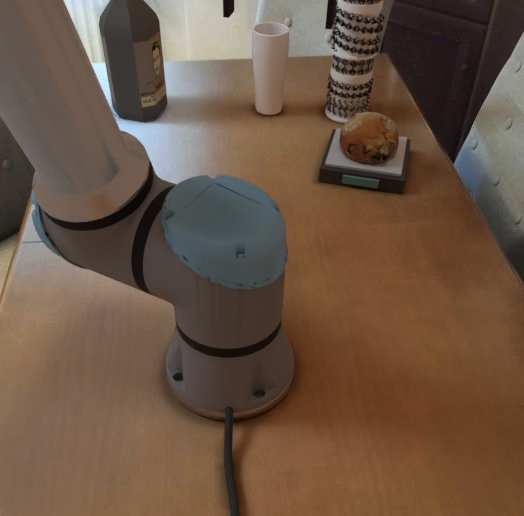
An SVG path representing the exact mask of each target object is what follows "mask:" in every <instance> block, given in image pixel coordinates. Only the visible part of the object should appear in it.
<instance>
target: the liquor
mask: <svg viewBox="0 0 524 516" xmlns="http://www.w3.org/2000/svg"><path fill="white" fill-rule="evenodd" d="M98 29H99V35H100V41H101V47H102V53H103V59H104V64H105V69H106V75H107V82H108V88H109V93H110V99H111V105H112V109H113V110H114V112H115V113H116V115H117V116H118V117H119V119H123V120H128V121H129V120H131V121H136V122H140V123H141V122H142V123H145V122H150V121H154V120H157V118H158V117H160V115H161V114H162V113H163V112H164V111H165V109H166V108H167V106H168V94H167V85H166V83H167V82H166V74H165V63H164V55H163V54H164V53H163V45H162V34H161V33H162V32H161V23H160V19H159V16H158V14H157V13H156V12H155V10H153V8H152V7H151V6H150V5H149V4H148V3H147V2H146V1H145V0H109V1H108V3H107V4H106V6H105V8H104V9H103V11H102V13H101V14H100V16H99V20H98Z"/></svg>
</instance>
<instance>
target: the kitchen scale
mask: <svg viewBox="0 0 524 516" xmlns="http://www.w3.org/2000/svg"><path fill="white" fill-rule="evenodd" d="M341 128H342V127H341ZM341 128H340V127H336V129H334V128H333V129H332V131H331V134H330V137H329V139H328V143H327V145H326V149H325V151H324V154H323V157H322V160H321V163H320V167H319V173H318V182H320V183H326V184H333V185H338V186H346V187H353V188H359V189H360V188H361V189H366V190H373V191H380V192H387V193H394V194H399V195H402V194H403V191H404V186H405V183H406V175H407V168H408V161H409V155H410V149H411V141H412V140H411V138H409V139H408V136H401V135H399V144H398V148H397V151H396V152H395V153H394V154H393V156H392V157H390V158H389V159H388V160H386V161H384V162H382V163H379V164H378V163H375V164H365V163H358V162H354V161H352V160H350V159H349V158H347V157H346V156H345V155H344V154H343V152H342V150H341V148H340V142H339V138H340V131H341Z"/></svg>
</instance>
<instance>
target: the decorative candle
mask: <svg viewBox="0 0 524 516" xmlns="http://www.w3.org/2000/svg"><path fill="white" fill-rule="evenodd" d="M383 6H384V0H337V2H336V12H335V22H334V24H333V26H332V28H331V30H332V31H331V35H330V38H331V39H332V43H331V47H330V49H331V50H330V51H331V52H332V62H331V66H330V73H329V74H328V77H327V81H329V82H328V83H327V86H326V88H327V89H328V90H327V92H326V95H325V98H326V100H325V103H324V104H325V110H324V113H325V115H326V117H327V118H329V119H331V120H332V121H334V122H338V123H342V124H345V123H346V122H347V121H348V120H349V119H350V118H352V117H353V116H355V114H357V113H363V112H369V110H370V108H369V107H370V106H371V105H370V103H371V99H372V97H371V96H370V94H372V91H373V87H372V86H373V85H374V78H373V71H374V67H373V66H374V61H375V60H374V59H375V57H376V56H377V55H378V52H379V50H380V49H379V48H380V47H379V46H378V44H380V43H381V36H379V35H378V34H379V33H381V32H383V30H384V26H383V25H382V24H381V23H383V22H384V21H385V20H386V19H385V15H384V14H383V13H381V12H382V11H383Z"/></svg>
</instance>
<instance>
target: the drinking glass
mask: <svg viewBox="0 0 524 516" xmlns="http://www.w3.org/2000/svg"><path fill="white" fill-rule="evenodd" d="M251 30H252V31H251V58H252V59H251V60H252V61H251V62H252V73H253V85H254V88H253V89H254V108H255V111H257V113H259V114H261V115H264V116H273V115H274V116H275V115H277V114H280V113H281V111H282V110H283V105H284V104H283V101H284V92H285V84H286V76H287V69H288V60H289V51H290V28H289V27H288V26H287V25H286V24H283V23H280V22H274V21H266V22H260V23H256V24H255V25H254V26H253V27H252V29H251Z"/></svg>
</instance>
